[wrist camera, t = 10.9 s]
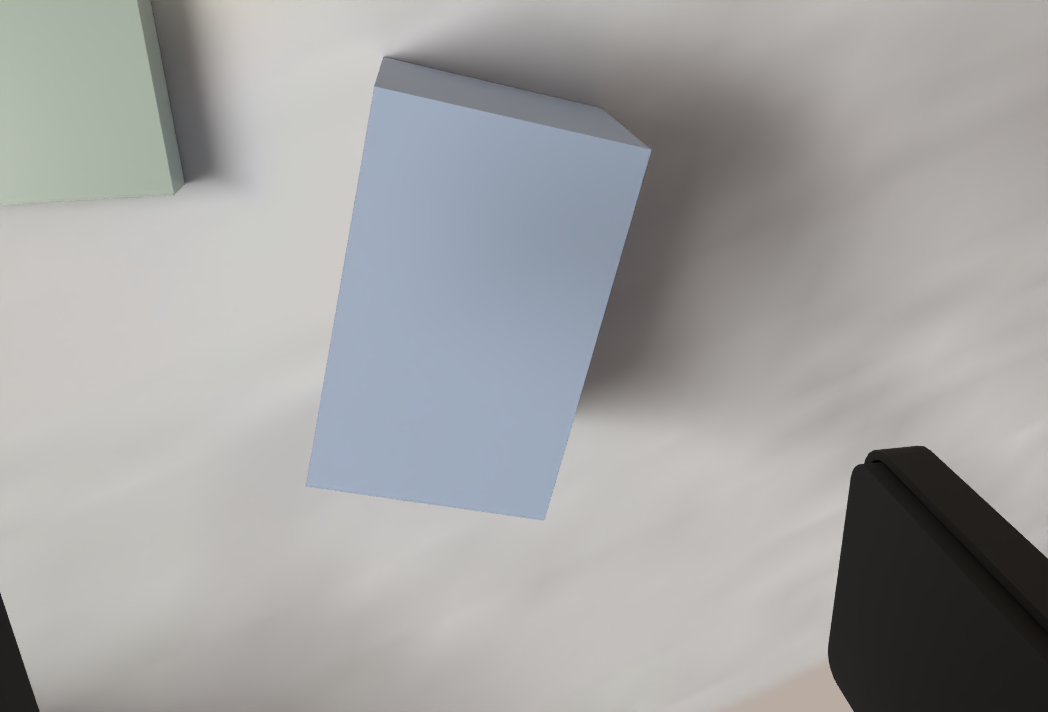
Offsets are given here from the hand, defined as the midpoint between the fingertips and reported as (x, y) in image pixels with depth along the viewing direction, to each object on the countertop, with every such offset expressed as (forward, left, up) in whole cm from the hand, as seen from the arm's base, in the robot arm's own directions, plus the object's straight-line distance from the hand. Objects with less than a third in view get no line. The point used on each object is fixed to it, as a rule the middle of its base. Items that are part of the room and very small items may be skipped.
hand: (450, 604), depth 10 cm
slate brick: (-1, 0, -13) cm, 13 cm away
